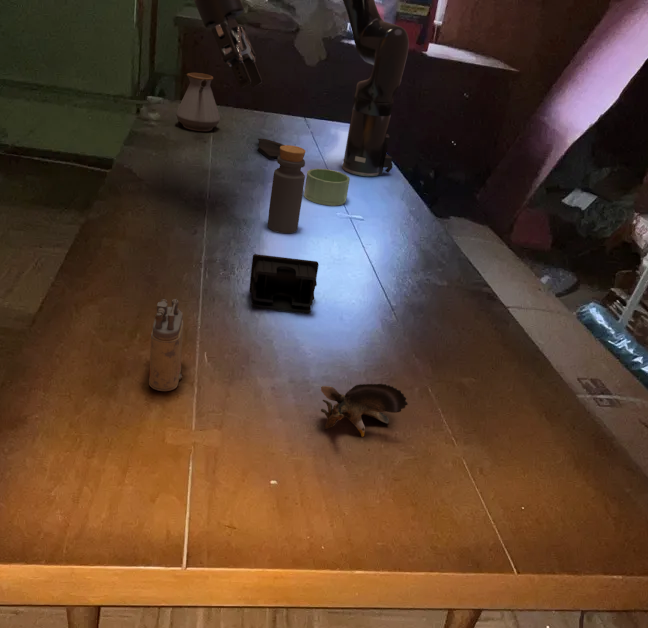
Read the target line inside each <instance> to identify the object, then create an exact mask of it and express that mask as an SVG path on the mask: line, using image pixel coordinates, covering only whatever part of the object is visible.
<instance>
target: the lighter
mask: <svg viewBox="0 0 648 628" xmlns="http://www.w3.org/2000/svg"><path fill="white" fill-rule="evenodd" d="M179 301H180V300H179V299H177V298H173V299H172V300H171V306H169V305H168V300H167V299H166V298H162V299H161V300H160V301H158V302H157V304H156V313H155V315H154V321H153V323H152V331H151V334H150V355H149V380H148V386H150V387H151V388H152V389H153V390H155V391H160V392H170V391H173V390H175V389H177V387H178V385H179V381H181V379H183V375H182V373H181V372H182V356H183V355H182V353H183V339H184V323H185V322H184V320H183V317H184V315H183V311H182V310H180V308H178V307H179V304H180V302H179Z"/></svg>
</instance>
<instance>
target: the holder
mask: <svg viewBox="0 0 648 628" xmlns="http://www.w3.org/2000/svg"><path fill="white" fill-rule="evenodd" d="M350 179H351V178H350V177H349V176H348V175H347V174H345V173H343V172H341V171H337V170H333V169H329V168H311V169H309V170H307V172H306V176H305V183H304V191H303V197H304V198H305V199H306V200H308V201H310V202H313V203H314V204H319V205H323V206H324V205H325V206H332V207H336V206H342V205H344V204H346V202H347V198H348V193H349V187H350V182H351V180H350Z"/></svg>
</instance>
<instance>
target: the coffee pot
mask: <svg viewBox="0 0 648 628" xmlns="http://www.w3.org/2000/svg"><path fill="white" fill-rule="evenodd" d="M186 76H187V78H188V81H189V85H188V86H187V89H186V91H185V93H184V95H183V98H182V100H181V102H180V104H179V106H178V108H177V110H176V112H175V116H176V118H177V120H178V122H179V123H181V124H182V127H184V128H185V129H188V130H191V131H195V132H196V131H197V132H209V131H212V130H213V129H214V128H216V126H218V125H219V123H220V121H221V116H220V112H219V110H218V106H217V103H216V100H215V97H214V93H213V90H212V88H211V84H212V81H213V80H214V76H212V75H210V74H207V73H204V72H203V73H201V72H188V73H186Z"/></svg>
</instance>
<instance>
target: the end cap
mask: <svg viewBox="0 0 648 628" xmlns="http://www.w3.org/2000/svg"><path fill="white" fill-rule="evenodd" d="M251 259H252V260H251V269H250V277H249V278H250V279H249V289H248V290H249V293H251V308H253V309H260V310H267V311H268V310H269V311H278V312H286V313H287V312H288V313H296V314H306V315H309V314H311V312H312V305H313V303H314V301H315V289H316V287H317V286H318V284H317V283H318V282H317V277H318V272H319V261H316V260H307V259H300V258H290V257H284V256H275V255H266V254H258V253H254V254H253V255H252V258H251Z"/></svg>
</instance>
